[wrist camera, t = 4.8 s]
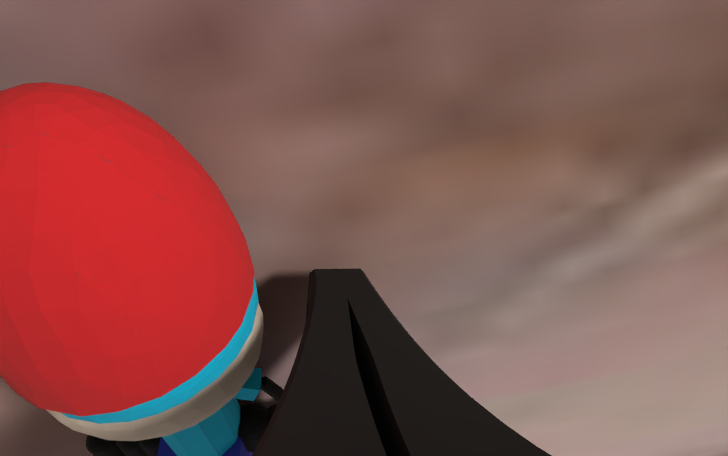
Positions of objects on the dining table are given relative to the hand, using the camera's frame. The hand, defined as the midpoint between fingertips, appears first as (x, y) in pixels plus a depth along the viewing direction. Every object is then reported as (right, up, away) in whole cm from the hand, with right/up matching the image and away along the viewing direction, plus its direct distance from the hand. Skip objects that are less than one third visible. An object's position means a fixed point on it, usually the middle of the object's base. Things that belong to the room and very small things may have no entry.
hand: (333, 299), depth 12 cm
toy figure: (-4, 0, +1) cm, 5 cm away
